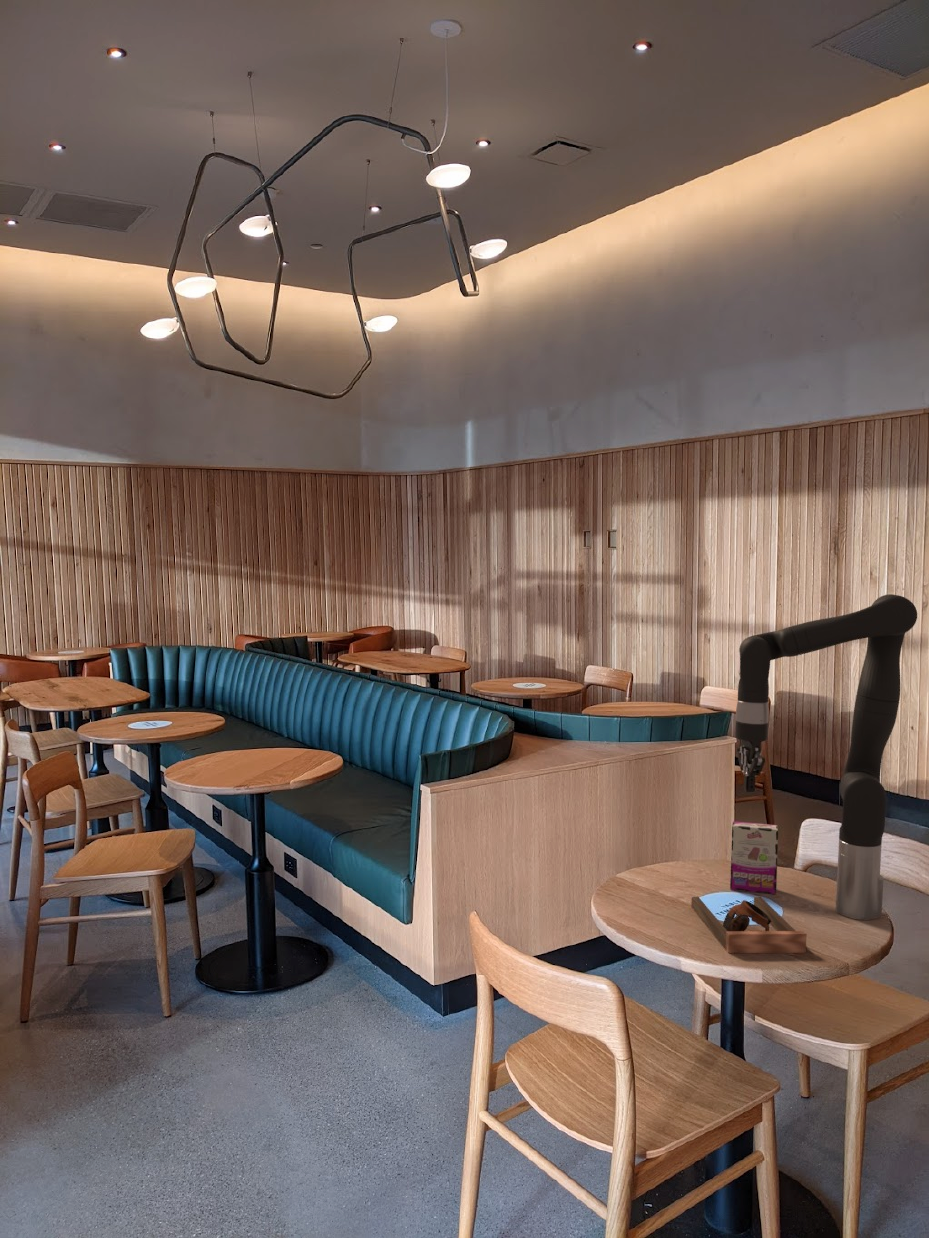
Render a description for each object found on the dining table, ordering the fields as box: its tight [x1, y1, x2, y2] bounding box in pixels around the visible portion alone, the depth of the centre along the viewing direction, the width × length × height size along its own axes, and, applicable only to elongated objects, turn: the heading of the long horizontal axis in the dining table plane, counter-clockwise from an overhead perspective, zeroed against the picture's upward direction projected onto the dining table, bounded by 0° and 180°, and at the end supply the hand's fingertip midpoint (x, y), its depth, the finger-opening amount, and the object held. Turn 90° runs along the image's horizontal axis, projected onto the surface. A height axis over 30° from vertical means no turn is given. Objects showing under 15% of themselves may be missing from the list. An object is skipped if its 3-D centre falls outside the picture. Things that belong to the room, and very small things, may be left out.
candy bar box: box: [729, 820, 779, 895], centre depth 236 cm, size 11×5×16 cm, turn 73°
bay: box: [690, 896, 807, 954], centre depth 211 cm, size 17×26×4 cm, turn 3°
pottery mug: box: [722, 899, 771, 931], centre depth 207 cm, size 12×10×8 cm
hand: (749, 791), depth 227 cm, fingers closed
